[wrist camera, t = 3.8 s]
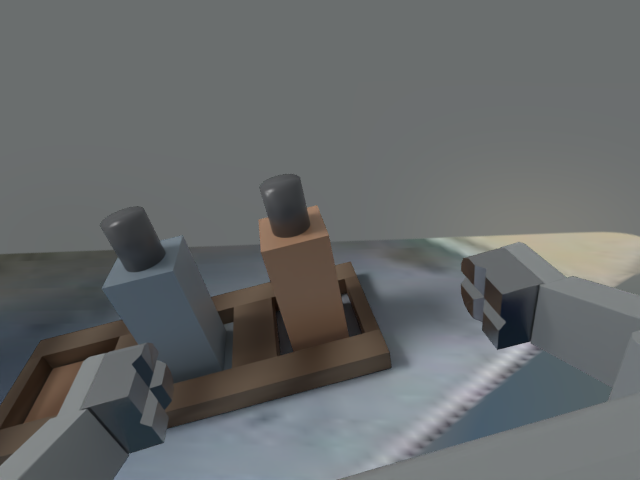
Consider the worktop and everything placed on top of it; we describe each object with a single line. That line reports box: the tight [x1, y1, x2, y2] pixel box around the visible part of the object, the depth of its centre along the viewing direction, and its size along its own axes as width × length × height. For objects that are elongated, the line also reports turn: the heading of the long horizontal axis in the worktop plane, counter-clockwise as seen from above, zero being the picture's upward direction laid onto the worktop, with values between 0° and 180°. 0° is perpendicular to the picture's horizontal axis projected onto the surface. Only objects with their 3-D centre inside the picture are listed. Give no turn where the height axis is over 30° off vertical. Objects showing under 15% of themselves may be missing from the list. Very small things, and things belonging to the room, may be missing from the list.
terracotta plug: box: [259, 174, 349, 352], centre depth 25 cm, size 4×4×12 cm
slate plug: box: [100, 206, 226, 384], centre depth 24 cm, size 4×4×12 cm
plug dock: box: [0, 262, 391, 466], centre depth 27 cm, size 26×10×2 cm, turn 100°
